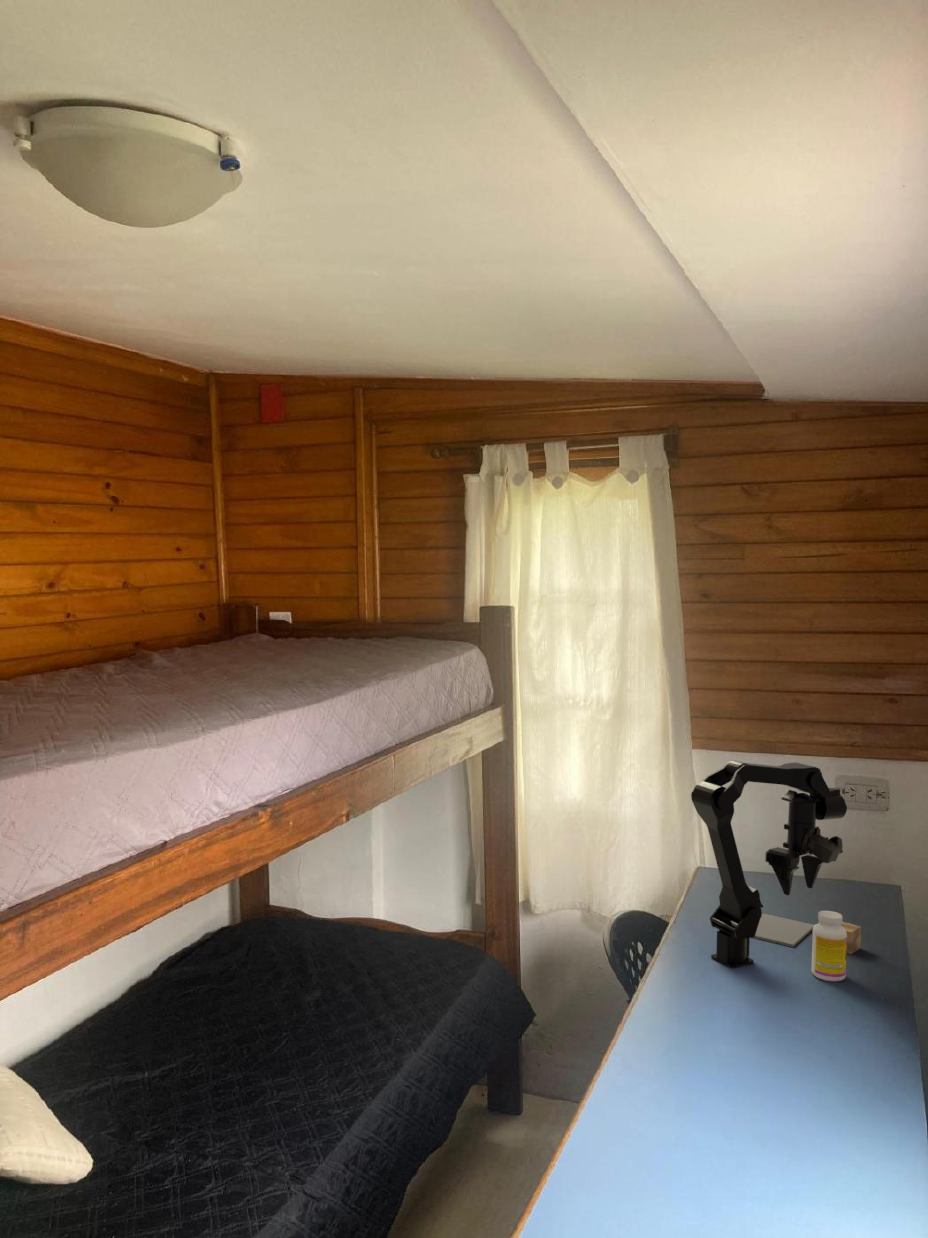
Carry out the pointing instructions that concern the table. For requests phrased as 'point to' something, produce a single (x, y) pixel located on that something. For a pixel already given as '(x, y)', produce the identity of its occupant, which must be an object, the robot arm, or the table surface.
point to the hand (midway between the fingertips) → (798, 891)
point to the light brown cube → (852, 937)
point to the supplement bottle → (829, 947)
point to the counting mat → (781, 930)
